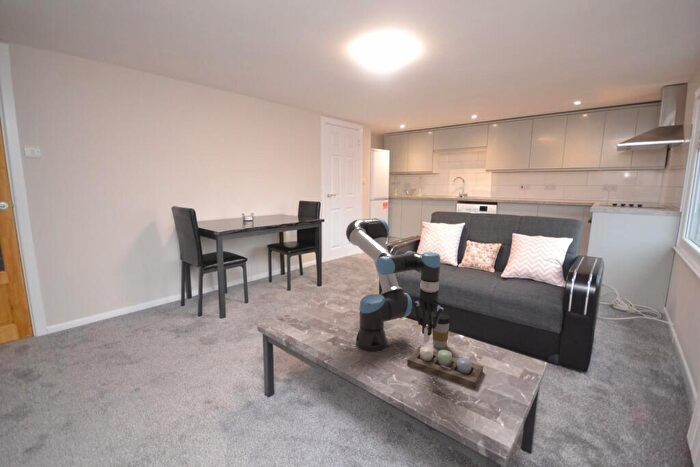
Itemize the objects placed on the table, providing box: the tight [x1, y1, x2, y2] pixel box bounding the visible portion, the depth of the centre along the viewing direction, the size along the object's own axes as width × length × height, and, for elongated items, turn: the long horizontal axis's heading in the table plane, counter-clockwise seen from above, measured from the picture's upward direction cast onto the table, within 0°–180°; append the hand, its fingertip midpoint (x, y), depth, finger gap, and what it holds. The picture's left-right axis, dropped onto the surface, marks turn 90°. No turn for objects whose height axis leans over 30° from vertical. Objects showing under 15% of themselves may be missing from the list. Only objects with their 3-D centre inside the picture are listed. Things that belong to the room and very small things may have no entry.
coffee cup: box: [432, 312, 451, 350], centre depth 153 cm, size 8×8×15 cm
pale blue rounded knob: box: [456, 357, 473, 375], centre depth 131 cm, size 6×6×4 cm
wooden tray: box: [406, 346, 484, 389], centre depth 136 cm, size 28×13×2 cm, turn 56°
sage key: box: [437, 349, 453, 367], centre depth 135 cm, size 6×6×4 cm
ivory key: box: [420, 346, 434, 363], centre depth 140 cm, size 6×6×4 cm
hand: (426, 341), depth 139 cm, fingers closed
